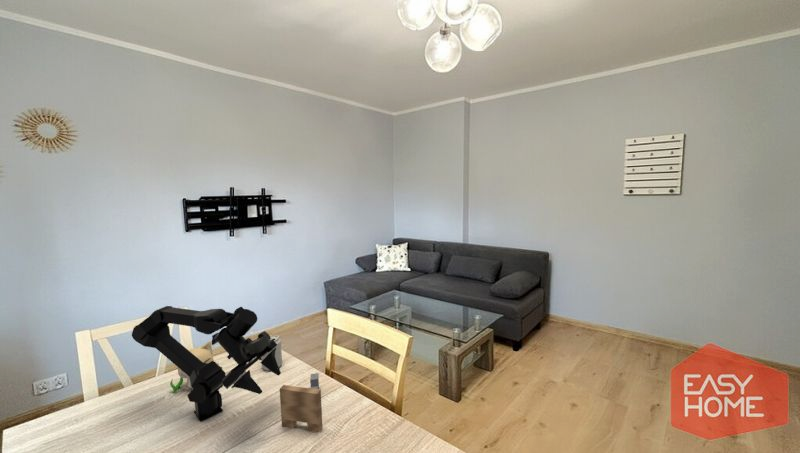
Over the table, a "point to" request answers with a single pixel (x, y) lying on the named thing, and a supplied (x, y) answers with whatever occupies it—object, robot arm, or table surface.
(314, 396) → the walnut plate
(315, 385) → the charcoal rail
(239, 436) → the table surface
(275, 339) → the can
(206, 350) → the kitten
